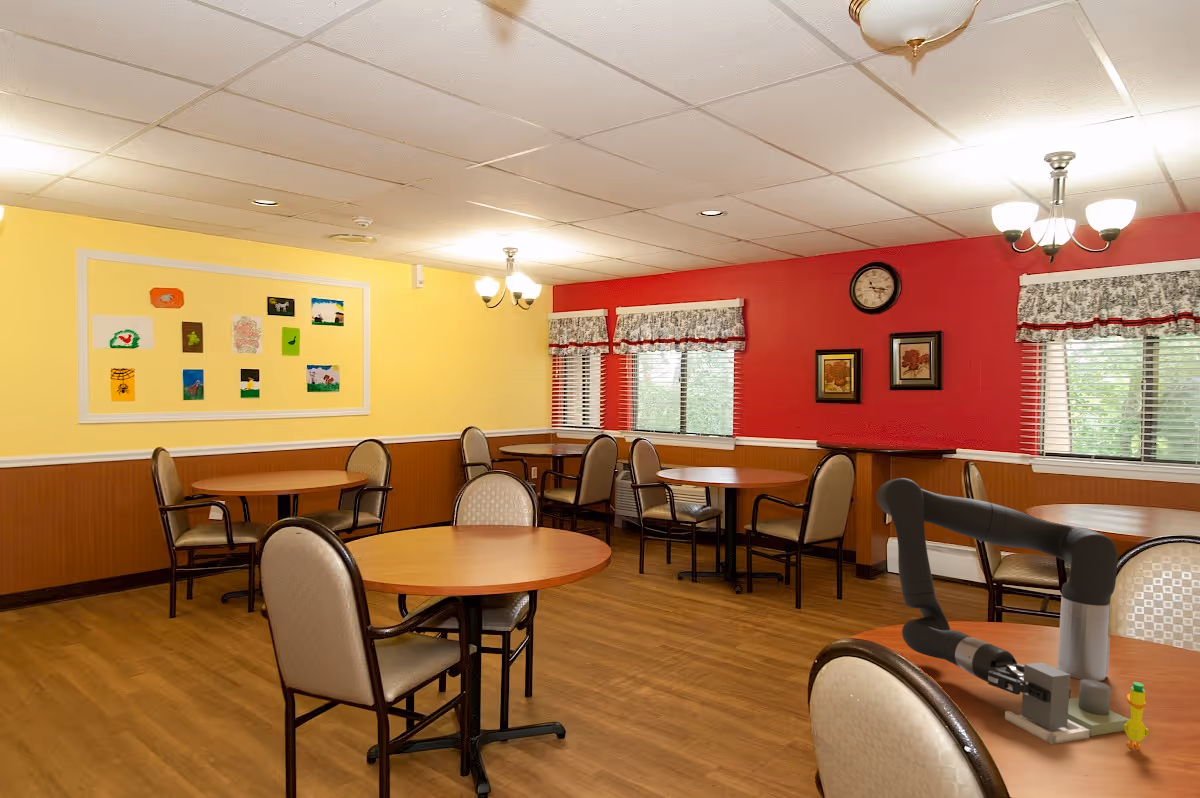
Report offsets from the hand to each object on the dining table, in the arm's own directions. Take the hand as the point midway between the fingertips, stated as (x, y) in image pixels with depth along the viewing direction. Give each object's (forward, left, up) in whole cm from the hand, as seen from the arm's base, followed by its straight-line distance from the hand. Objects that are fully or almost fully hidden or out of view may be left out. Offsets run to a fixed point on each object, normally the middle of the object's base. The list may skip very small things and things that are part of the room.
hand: (1058, 695), depth 136 cm
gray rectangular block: (0, -3, -6) cm, 7 cm away
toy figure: (-10, +7, -7) cm, 14 cm away
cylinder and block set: (-6, -2, -7) cm, 10 cm away
